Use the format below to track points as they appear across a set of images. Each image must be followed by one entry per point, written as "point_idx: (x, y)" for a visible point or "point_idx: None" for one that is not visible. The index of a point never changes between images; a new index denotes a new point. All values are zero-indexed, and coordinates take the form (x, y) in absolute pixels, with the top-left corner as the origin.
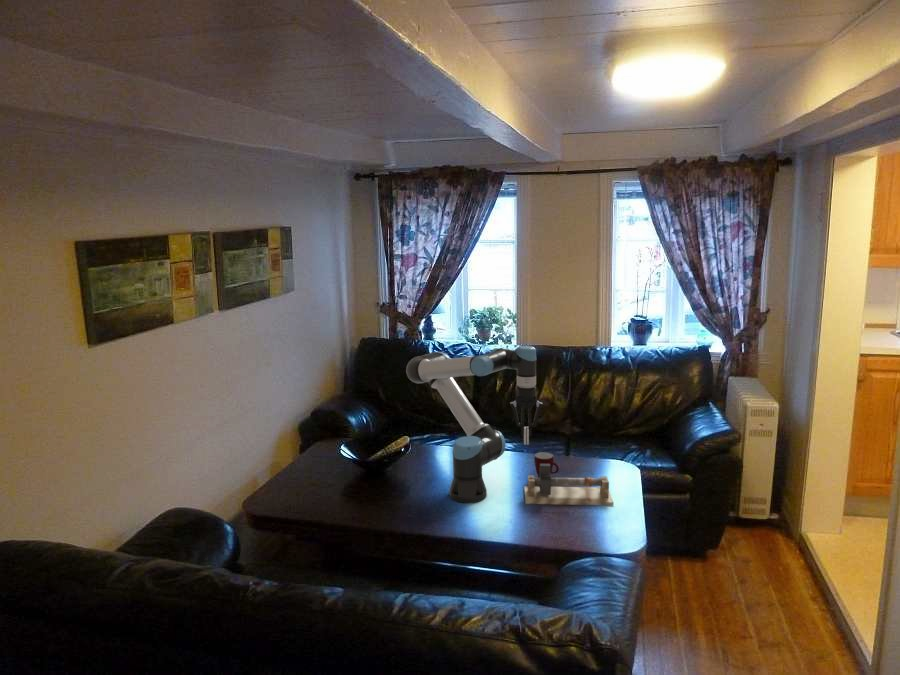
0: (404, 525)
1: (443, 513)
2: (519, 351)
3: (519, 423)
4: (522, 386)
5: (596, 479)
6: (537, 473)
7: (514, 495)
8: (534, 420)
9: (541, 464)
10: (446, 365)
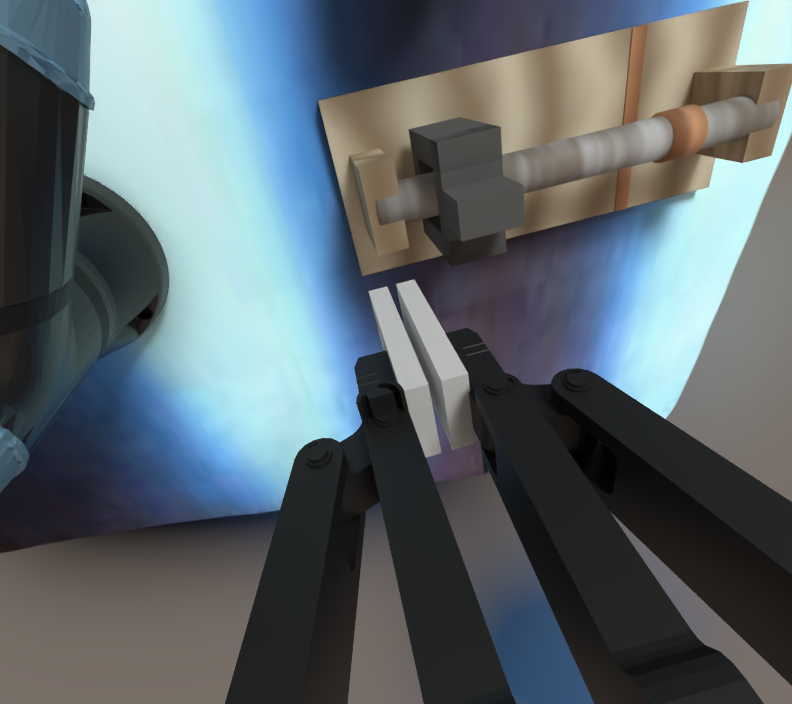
0: (18, 529)
1: (83, 433)
2: None
3: (356, 497)
4: None
5: (726, 136)
6: None
7: (290, 199)
8: (613, 511)
9: (468, 215)
10: None
